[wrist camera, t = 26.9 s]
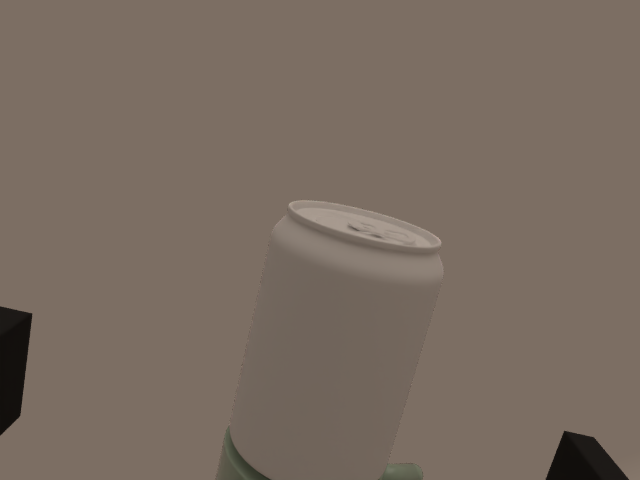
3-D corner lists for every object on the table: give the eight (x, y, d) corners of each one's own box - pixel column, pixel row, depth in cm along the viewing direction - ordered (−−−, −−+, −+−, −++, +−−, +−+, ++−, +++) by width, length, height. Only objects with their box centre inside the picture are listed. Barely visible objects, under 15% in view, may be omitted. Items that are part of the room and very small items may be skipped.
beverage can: (261, 387, 32) (306, 191, 29) (393, 434, 30) (453, 232, 27) (197, 464, 24) (250, 207, 21) (370, 533, 22) (451, 265, 20)
